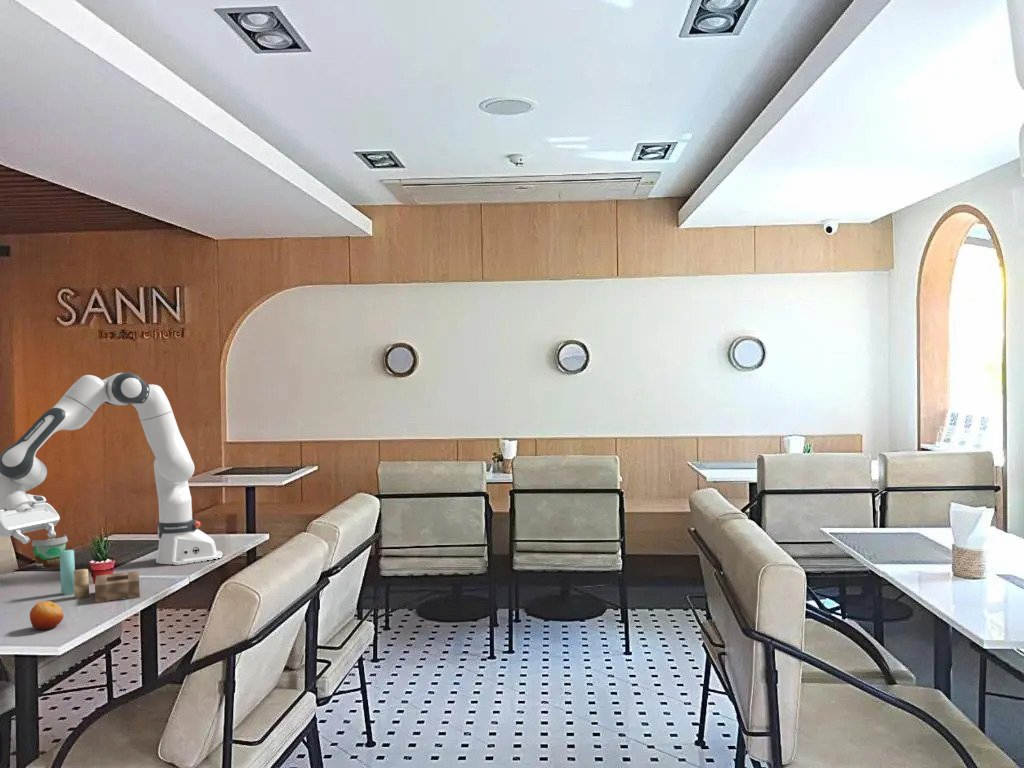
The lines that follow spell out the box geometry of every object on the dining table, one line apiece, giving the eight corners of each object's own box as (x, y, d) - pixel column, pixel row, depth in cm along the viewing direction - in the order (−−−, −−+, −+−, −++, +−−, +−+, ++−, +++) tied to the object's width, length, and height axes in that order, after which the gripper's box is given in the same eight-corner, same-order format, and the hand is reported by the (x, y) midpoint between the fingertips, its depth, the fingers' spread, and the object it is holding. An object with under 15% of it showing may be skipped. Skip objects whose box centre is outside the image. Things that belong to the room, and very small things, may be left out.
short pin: (89, 594, 269) (88, 568, 268) (89, 597, 265) (87, 571, 265) (74, 596, 267) (73, 569, 267) (74, 599, 263) (73, 572, 263)
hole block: (139, 587, 276) (138, 571, 276) (139, 597, 263) (139, 580, 263) (96, 592, 271) (96, 575, 271) (95, 602, 258) (94, 585, 258)
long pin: (76, 590, 273) (74, 549, 273) (75, 593, 270) (73, 551, 270) (61, 592, 272) (60, 550, 272) (60, 595, 268) (59, 553, 268)
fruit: (30, 619, 237) (45, 593, 238) (57, 632, 238) (72, 607, 238) (16, 628, 229) (31, 601, 230) (44, 642, 230) (59, 615, 230)
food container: (42, 570, 304) (41, 541, 304) (32, 568, 307) (31, 540, 307) (76, 563, 315) (75, 535, 314) (66, 561, 318) (65, 534, 318)
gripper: (-9, 505, 267) (15, 539, 264) (48, 495, 286) (72, 526, 283) (-19, 519, 269) (5, 553, 266) (39, 508, 288) (62, 539, 285)
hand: (40, 539), depth 274 cm, fingers open, 8 cm apart
